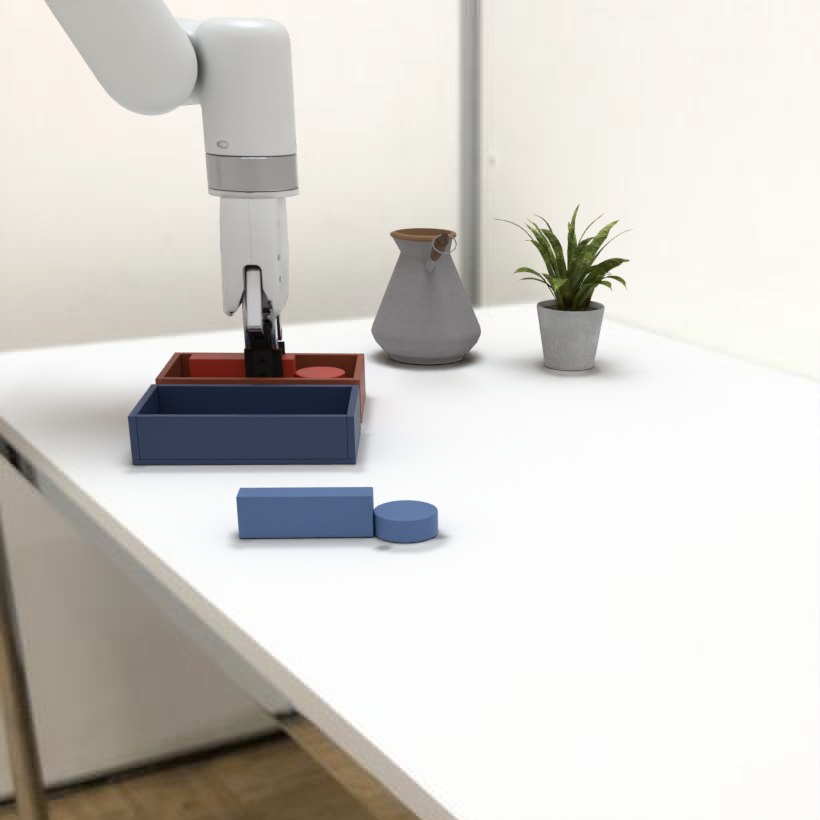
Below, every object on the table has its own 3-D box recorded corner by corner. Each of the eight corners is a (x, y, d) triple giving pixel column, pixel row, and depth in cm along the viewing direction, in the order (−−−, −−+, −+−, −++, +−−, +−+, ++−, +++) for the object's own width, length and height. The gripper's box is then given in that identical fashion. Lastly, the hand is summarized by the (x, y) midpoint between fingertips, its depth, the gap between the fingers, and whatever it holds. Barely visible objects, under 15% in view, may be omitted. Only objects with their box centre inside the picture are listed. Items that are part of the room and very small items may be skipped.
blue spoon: (236, 544, 91) (233, 502, 90) (244, 522, 95) (241, 481, 94) (438, 542, 92) (438, 500, 91) (437, 521, 96) (437, 480, 95)
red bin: (159, 423, 117) (154, 378, 115) (178, 393, 126) (174, 352, 125) (361, 423, 119) (360, 379, 118) (365, 394, 128) (364, 353, 127)
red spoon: (189, 395, 119) (186, 362, 118) (197, 383, 123) (194, 350, 122) (344, 395, 121) (343, 362, 120) (346, 383, 125) (345, 351, 124)
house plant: (493, 381, 134) (493, 211, 128) (486, 350, 147) (486, 194, 141) (635, 382, 136) (643, 214, 130) (616, 351, 149) (622, 197, 143)
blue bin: (132, 464, 106) (127, 416, 104) (155, 429, 115) (151, 383, 114) (355, 464, 108) (354, 416, 107) (360, 428, 117) (359, 384, 116)
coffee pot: (367, 345, 147) (362, 203, 142) (472, 343, 150) (472, 203, 144) (386, 395, 128) (381, 232, 123) (506, 392, 131) (507, 232, 125)
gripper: (219, 166, 122) (235, 368, 129) (193, 185, 107) (212, 413, 114) (305, 167, 123) (315, 368, 130) (290, 187, 108) (303, 412, 115)
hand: (267, 387), depth 122 cm, fingers closed on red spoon, 2 cm apart
